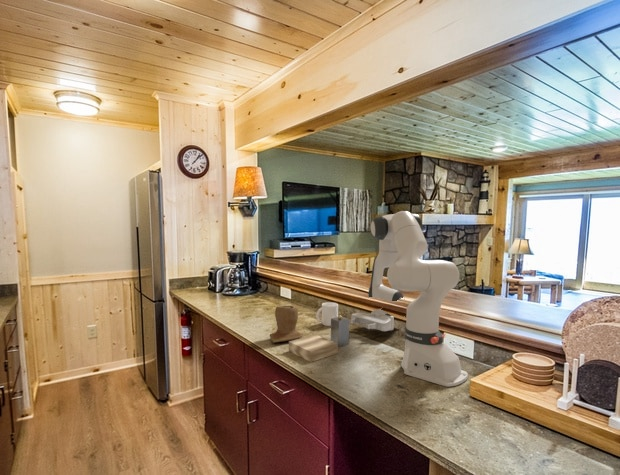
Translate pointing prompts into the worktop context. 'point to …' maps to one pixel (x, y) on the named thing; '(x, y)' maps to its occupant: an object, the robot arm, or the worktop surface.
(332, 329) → the block
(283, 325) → the brown piece
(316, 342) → the maple stand
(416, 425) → the worktop surface
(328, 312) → the mug
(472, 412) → the worktop surface
